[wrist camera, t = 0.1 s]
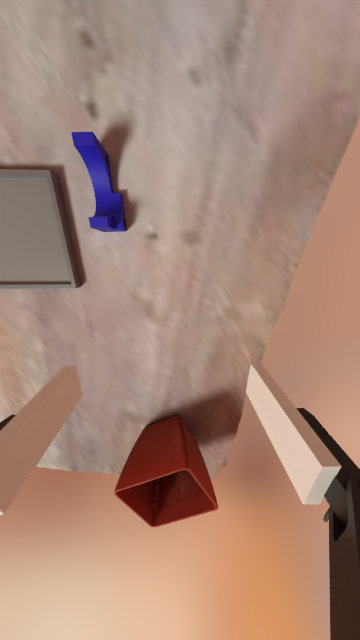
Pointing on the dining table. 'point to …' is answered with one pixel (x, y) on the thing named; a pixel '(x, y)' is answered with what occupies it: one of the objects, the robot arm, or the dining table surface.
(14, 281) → the tray
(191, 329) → the dining table surface
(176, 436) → the plant pot
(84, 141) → the cable clip
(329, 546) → the robot arm
